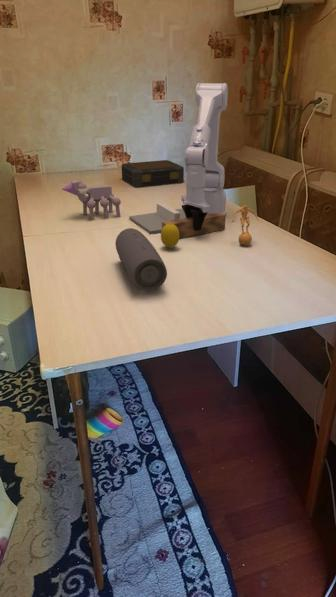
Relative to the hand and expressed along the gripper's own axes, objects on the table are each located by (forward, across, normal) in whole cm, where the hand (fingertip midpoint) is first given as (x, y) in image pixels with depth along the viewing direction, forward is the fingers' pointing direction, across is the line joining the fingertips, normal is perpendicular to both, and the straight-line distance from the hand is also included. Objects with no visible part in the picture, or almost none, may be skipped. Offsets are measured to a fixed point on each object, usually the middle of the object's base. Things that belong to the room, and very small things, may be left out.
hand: (194, 228), depth 143 cm
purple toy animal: (+2, -33, -24) cm, 41 cm away
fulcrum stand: (+2, -15, -2) cm, 15 cm away
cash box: (+2, -74, +20) cm, 77 cm away
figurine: (+2, +15, +9) cm, 18 cm away
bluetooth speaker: (+2, +22, -29) cm, 36 cm away
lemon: (+2, +8, -13) cm, 15 cm away
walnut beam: (+2, 0, 0) cm, 2 cm away
